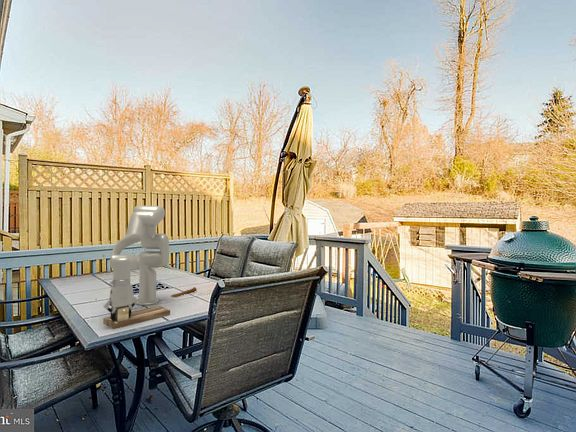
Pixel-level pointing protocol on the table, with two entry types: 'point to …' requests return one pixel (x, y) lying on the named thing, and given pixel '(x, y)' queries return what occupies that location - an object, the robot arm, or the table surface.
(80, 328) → the table surface
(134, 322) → the board
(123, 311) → the marking gauge
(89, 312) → the table surface
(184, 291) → the primitive tool
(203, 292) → the table surface
